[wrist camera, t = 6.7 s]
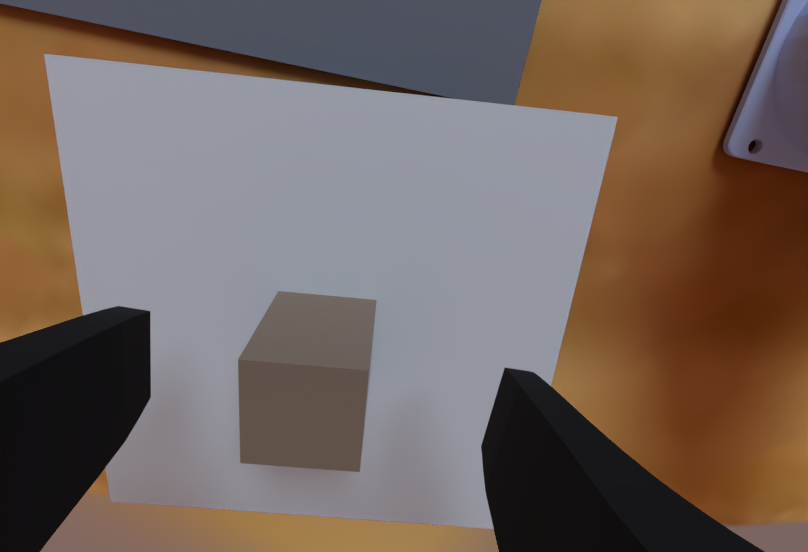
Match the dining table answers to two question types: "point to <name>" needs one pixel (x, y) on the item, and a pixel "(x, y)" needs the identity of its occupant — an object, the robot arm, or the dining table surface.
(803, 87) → the robot arm
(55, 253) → the dining table surface
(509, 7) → the mat
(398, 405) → the lid
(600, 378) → the dining table surface
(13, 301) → the dining table surface
